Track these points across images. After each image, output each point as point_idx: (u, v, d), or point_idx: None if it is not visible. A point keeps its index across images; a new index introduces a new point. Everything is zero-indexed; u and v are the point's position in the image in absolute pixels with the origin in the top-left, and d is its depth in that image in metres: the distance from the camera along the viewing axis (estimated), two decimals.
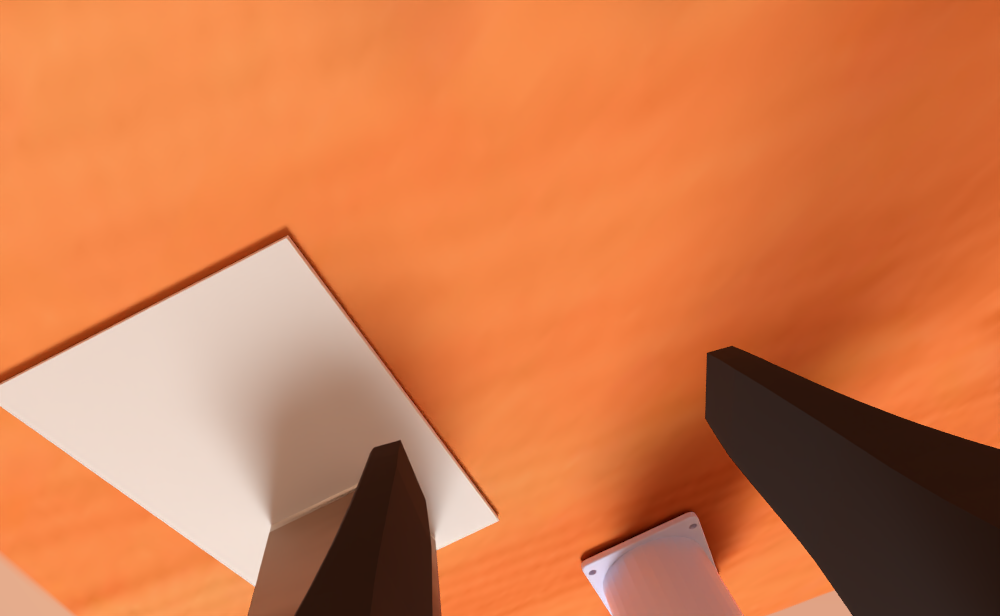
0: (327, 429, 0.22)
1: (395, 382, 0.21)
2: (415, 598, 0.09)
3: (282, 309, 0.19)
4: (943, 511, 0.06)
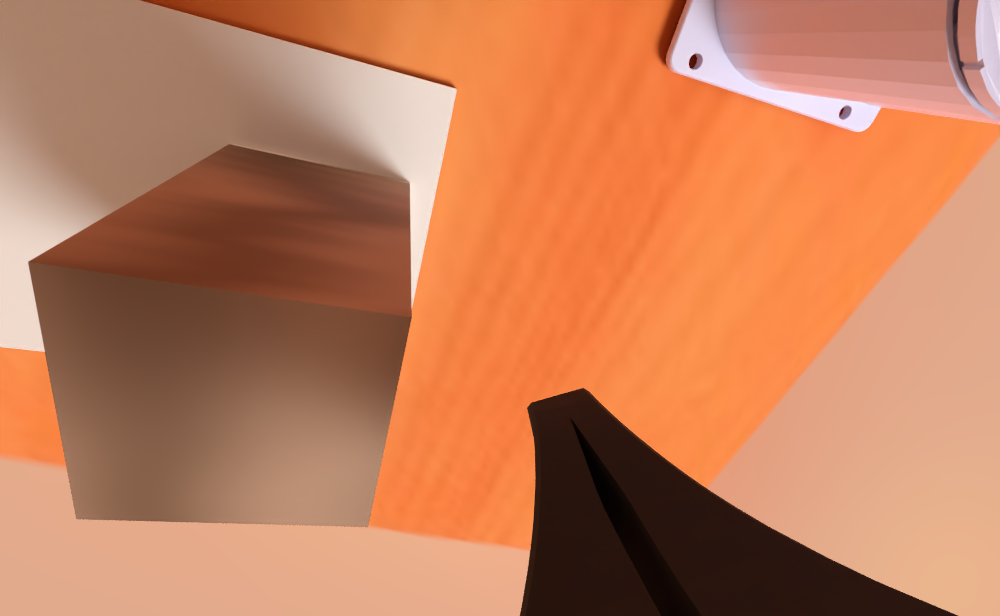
0: (103, 125, 0.15)
1: None
2: None
3: None
4: (681, 595, 0.06)
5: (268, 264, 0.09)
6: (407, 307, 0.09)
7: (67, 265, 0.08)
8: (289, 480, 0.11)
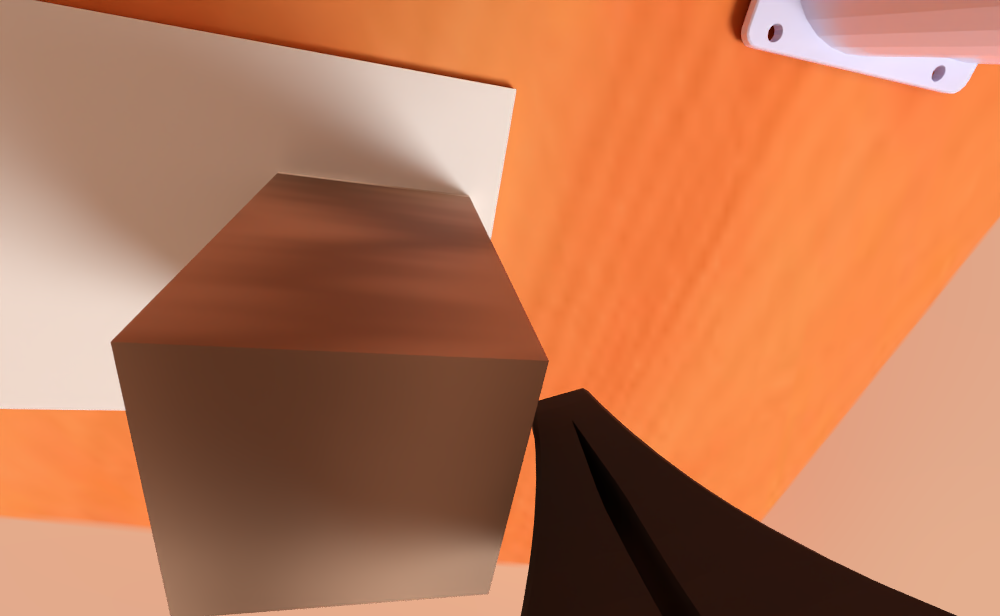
0: (143, 166, 0.14)
1: None
2: None
3: None
4: (681, 595, 0.06)
5: (370, 311, 0.08)
6: (538, 348, 0.08)
7: (155, 340, 0.06)
8: (405, 554, 0.09)
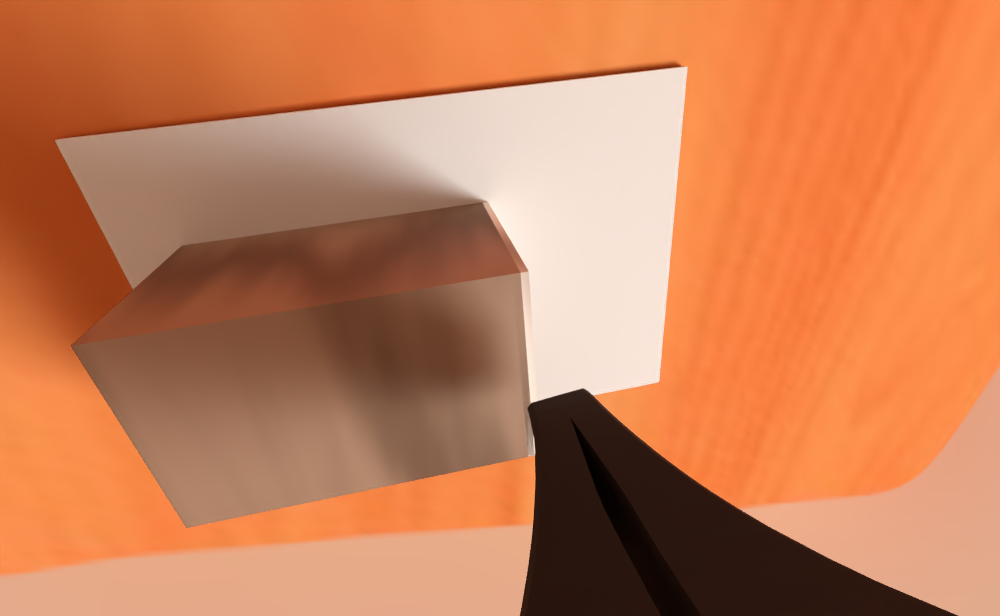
0: None
1: (335, 107, 0.14)
2: None
3: (170, 193, 0.15)
4: (681, 595, 0.06)
5: (185, 280, 0.13)
6: (91, 340, 0.10)
7: (180, 251, 0.15)
8: None
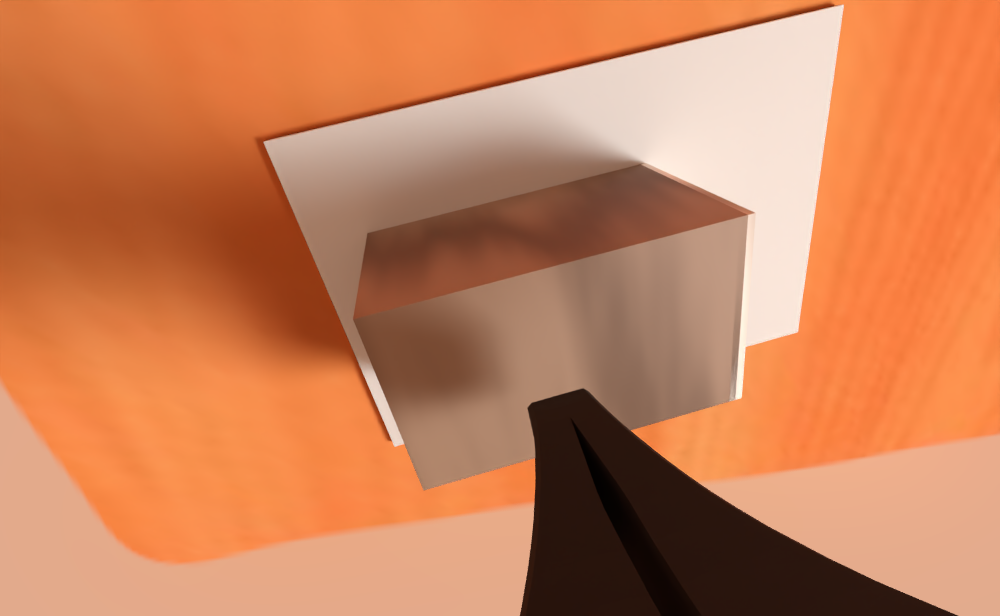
0: None
1: (510, 83, 0.15)
2: None
3: (359, 183, 0.15)
4: (681, 594, 0.06)
5: (405, 259, 0.14)
6: (368, 313, 0.11)
7: (370, 237, 0.16)
8: None
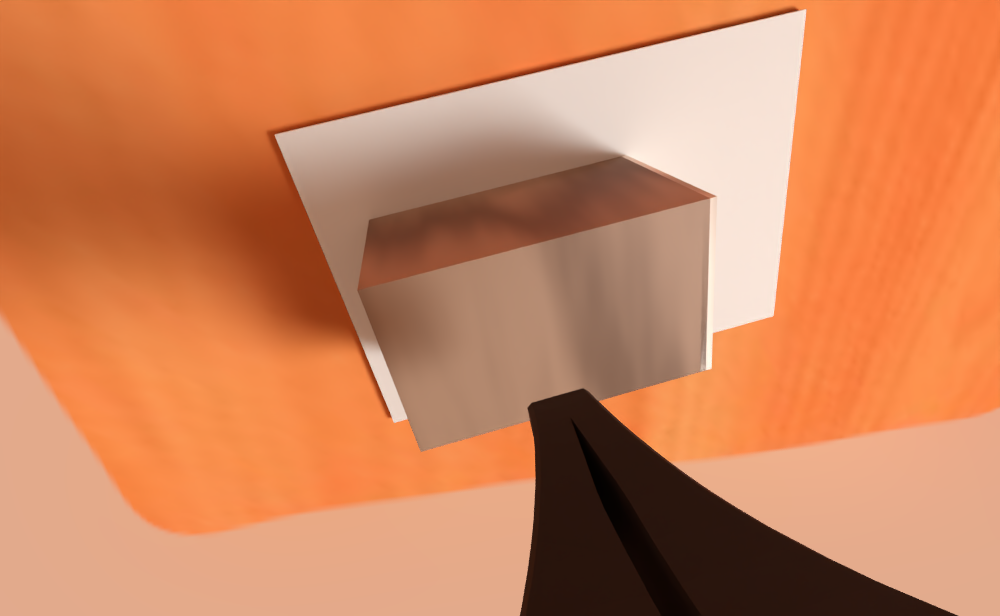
0: None
1: (500, 81, 0.16)
2: None
3: (362, 173, 0.17)
4: (681, 595, 0.06)
5: (403, 240, 0.15)
6: (371, 285, 0.12)
7: (372, 223, 0.17)
8: None
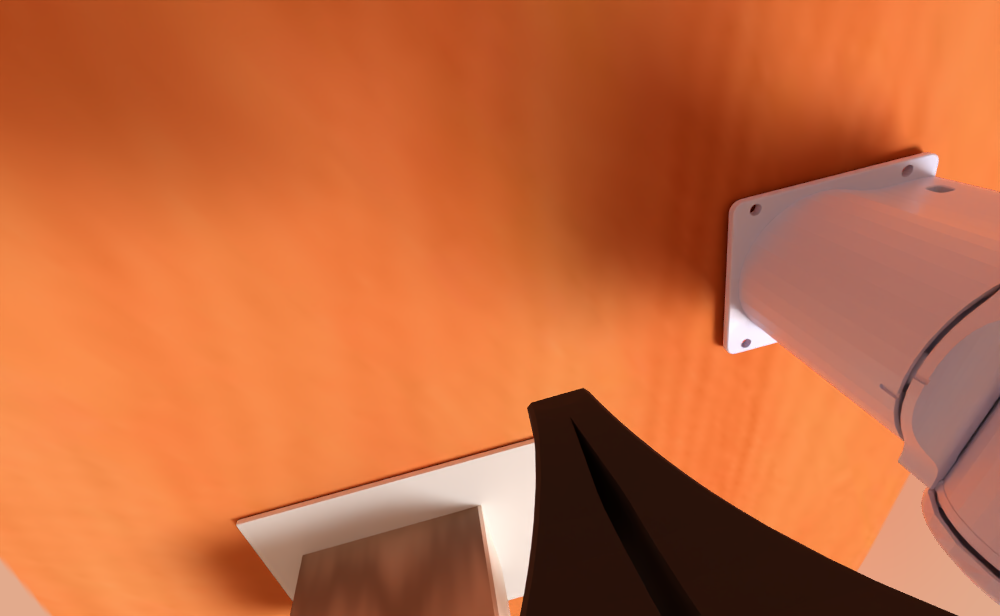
0: None
1: (385, 482, 0.25)
2: None
3: (295, 534, 0.25)
4: (681, 595, 0.06)
5: (315, 608, 0.23)
6: None
7: (303, 562, 0.26)
8: None
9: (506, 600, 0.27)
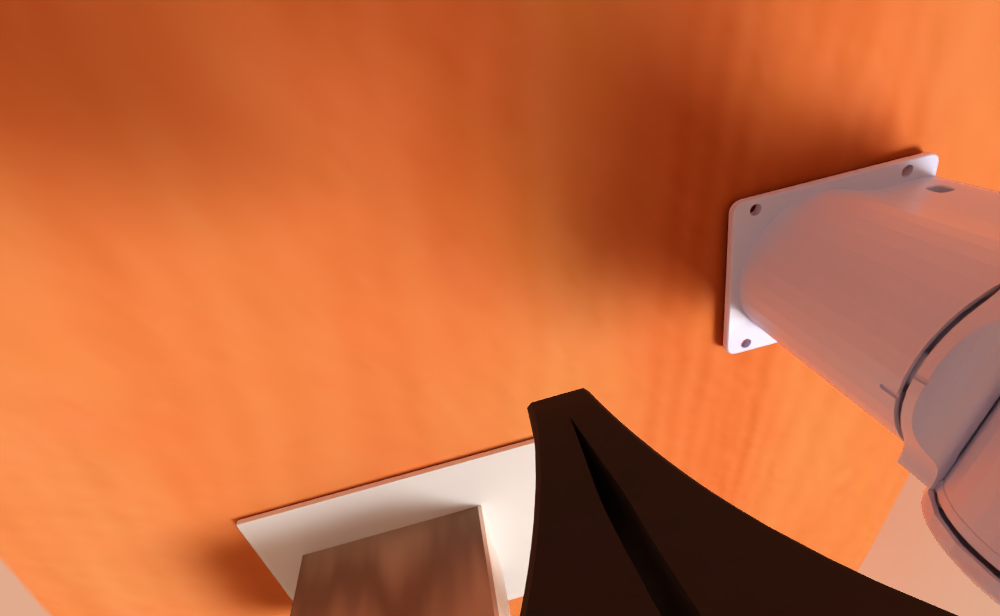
0: None
1: (385, 482, 0.25)
2: None
3: (295, 534, 0.25)
4: (681, 595, 0.06)
5: (316, 608, 0.23)
6: None
7: (303, 562, 0.26)
8: None
9: (506, 600, 0.27)
